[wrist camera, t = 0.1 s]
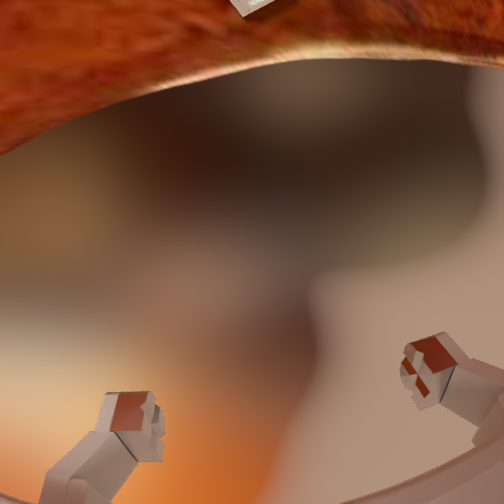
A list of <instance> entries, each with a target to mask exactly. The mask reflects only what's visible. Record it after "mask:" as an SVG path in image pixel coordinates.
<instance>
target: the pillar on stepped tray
mask: <svg viewBox="0 0 504 504" xmlns="http://www.w3.org/2000/svg"><path fill="white" fill-rule="evenodd" d="M230 1H231V3H232V4H233V5H234V7H235V8H236V9H237V10H238V12H239V13H240V14H241V16H242V17H244V16H246V15H248V14H249V13H251V12H253V11H255V10H257V9H259V8H261V7H263V6H265V5H266V4H268V3H270V2H272V1H274V0H230Z"/></svg>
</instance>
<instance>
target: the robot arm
mask: <svg viewBox="0 0 504 504" xmlns="http://www.w3.org/2000/svg"><path fill="white" fill-rule="evenodd" d="M404 354H405V356H406V357H405V359H404V360H403V361H402V362H401V366H400V376H401V380H402V382H403V384H404V386H405V388H407V389H409V390H411V391H412V396H411V397H412V399H413V401H414V402H415V404H416V406H417V407H418V409H419V410H423V409H425V408H428V407H431V406H433V405H436V404H438V403H440V404H441V405H442V406H444V407H446V408H447V409H449V410H451V411H452V412H454V413H456V414H457V415H459V416H461V417H462V418H464V419H466V420H467V421H469V422H471V423H472V424H474V425H476V426H477V427H479V428H478V430H477V431H476V433H475V434H474V436H473V438H472V442H473V444H474V446H475V447H474V448H472V449H471V450H469V451H467V452H465V453H463V454H461V455H460V456H458V457H456V458H454V459H452V460H450V461H448V462H446V463H444V464H442V465H440V466H438V467H436V468H433V469H431V470H429V471H427V472H425V473H423V474H420V475H418V476H416V477H413V478H411V479H408V480H406V481H404V482H401V483H398V484H396V485H393V486H390V487H388V488H385V489H382V490H379V491H377V492H374V493H370V494H368V495H364V496H362V497H358V498H355V499H351V500H348V501H344V502H341V503H337V504H504V370H503V369H500V368H498V367H495V366H492V365H490V364H487V363H485V362H482V361H479V360H476V359H474V358H473V359H469V358H468V356H467V355H466V354H465V353H464V352H463V350H462V349H461V348H460V347H459V346H458V345H457V344H456V342H455V341H454V340H453V339H452V338H451V337H450V336H449V335H448V333H446V332H441V333H438V334H435V335H432V336H429V337H426V338H423V339H420V340H417V341H414V342H411V343H408V344H407V345H406V346H405V348H404ZM164 434H165V419H164V415H163V412H162V410H161V408H160V407H159V406H157V405H156V404H155V396H154V394H153V393H152V392H151V391H140V392H139V391H137V392H107V393H106V394H105V396H104V398H103V402H102V406H101V409H100V412H99V416H98V420H97V423H96V427H95V431H90V432H89V433H88V434H87V435H86V436H85V437H84V438H83V439H82V440H81V441H80V442H78V443H77V444H76V445H75V446H74V447H73V448H72V449H71V450H70V451H69V452H68V453H67V454H66V455H65V456H64V457H62V458H61V459H60V460H59V461H58V462H57V463H56V464H55V465H54V466H53V467H52V468H51V469H50V470H49V471H47V473H46V477H45V480H44V484H43V487H42V491H41V496H40V499H39V503H38V504H113V503H112V502H111V500H112V499H113V497H114V496H115V495H116V493H117V492H118V491H119V489H120V488H121V487H122V485H123V484H124V483H125V481H126V480H127V478H128V477H129V475H130V474H131V473H132V471H133V470H134V469H135V467H136V466H137V465H138V462H162V461H163V449H164V444H163V443H162V441H161V440H160V438H162V436H163V435H164ZM0 504H34V503H31V502H27V501H24V500H21V499H18V498H15V497H12V496H9V495H6V494H3V493H0Z"/></svg>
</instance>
